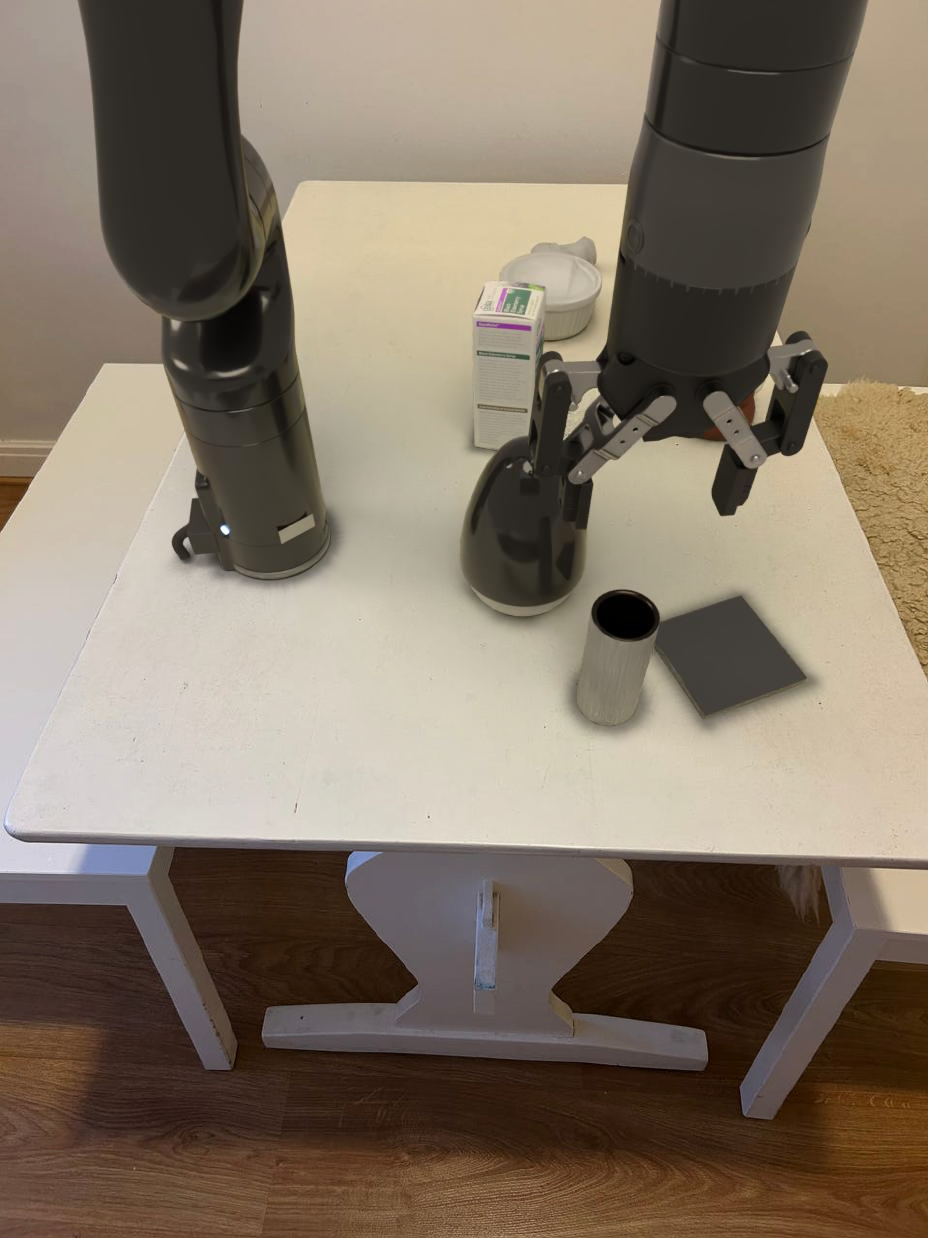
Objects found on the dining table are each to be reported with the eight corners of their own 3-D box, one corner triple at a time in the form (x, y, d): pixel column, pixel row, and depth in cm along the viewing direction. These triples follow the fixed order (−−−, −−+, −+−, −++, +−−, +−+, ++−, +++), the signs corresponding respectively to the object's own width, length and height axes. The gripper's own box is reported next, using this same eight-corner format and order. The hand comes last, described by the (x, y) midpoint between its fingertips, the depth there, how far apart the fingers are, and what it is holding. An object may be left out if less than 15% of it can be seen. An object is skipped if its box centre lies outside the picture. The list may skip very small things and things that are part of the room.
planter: (631, 675, 64) (654, 587, 56) (641, 725, 62) (666, 640, 54) (572, 677, 64) (587, 589, 56) (579, 727, 62) (596, 642, 54)
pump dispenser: (607, 604, 69) (636, 460, 57) (500, 654, 66) (506, 514, 54) (540, 528, 75) (553, 383, 63) (438, 571, 71) (431, 427, 60)
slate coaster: (704, 720, 62) (705, 715, 61) (643, 631, 67) (645, 626, 67) (805, 682, 64) (808, 677, 63) (739, 599, 69) (741, 594, 69)
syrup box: (531, 455, 81) (540, 319, 70) (471, 447, 82) (471, 311, 70) (539, 419, 84) (550, 283, 73) (482, 412, 85) (483, 277, 74)
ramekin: (614, 334, 94) (620, 290, 90) (523, 356, 91) (525, 312, 87) (569, 286, 101) (574, 243, 96) (483, 305, 98) (484, 261, 94)
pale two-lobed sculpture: (531, 292, 102) (526, 260, 104) (596, 288, 102) (590, 256, 104) (533, 266, 98) (528, 232, 100) (601, 261, 98) (595, 228, 100)
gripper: (836, 184, 38) (747, 460, 51) (530, 205, 37) (516, 480, 50) (911, 267, 34) (792, 548, 46) (562, 293, 33) (538, 573, 45)
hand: (648, 513), depth 48 cm, fingers open, 8 cm apart
